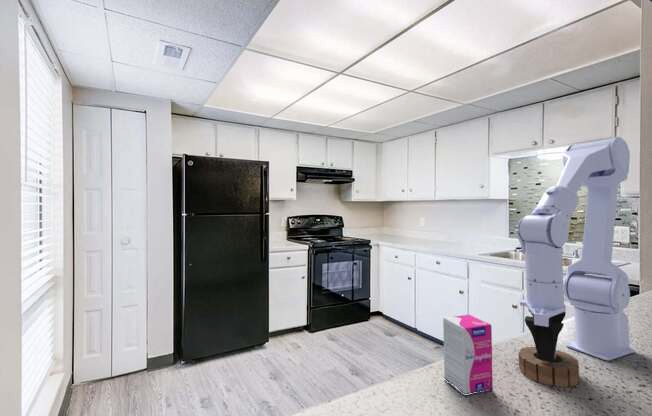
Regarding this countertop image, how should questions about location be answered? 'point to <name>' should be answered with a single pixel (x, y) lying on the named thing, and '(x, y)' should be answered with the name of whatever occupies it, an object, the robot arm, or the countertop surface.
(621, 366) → the countertop surface
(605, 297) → the robot arm
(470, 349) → the supplement box
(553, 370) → the walnut bead
